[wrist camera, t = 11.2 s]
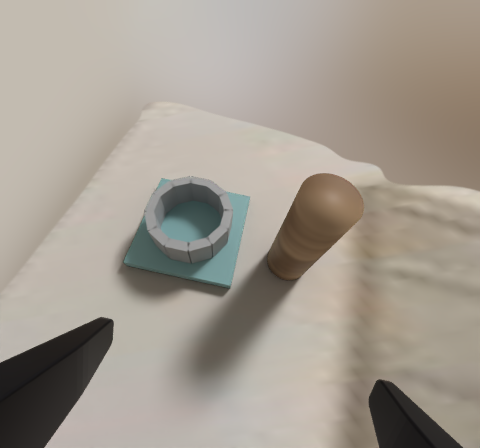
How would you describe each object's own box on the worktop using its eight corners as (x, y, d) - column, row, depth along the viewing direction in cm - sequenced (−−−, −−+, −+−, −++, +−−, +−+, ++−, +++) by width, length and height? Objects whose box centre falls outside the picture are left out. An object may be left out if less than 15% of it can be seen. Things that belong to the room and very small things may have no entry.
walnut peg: (305, 284, 23) (365, 234, 14) (264, 275, 24) (296, 219, 14) (307, 247, 25) (362, 180, 16) (269, 239, 26) (301, 168, 16)
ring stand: (230, 288, 23) (232, 276, 19) (126, 265, 23) (110, 249, 19) (249, 201, 28) (253, 179, 24) (163, 183, 28) (155, 158, 24)
